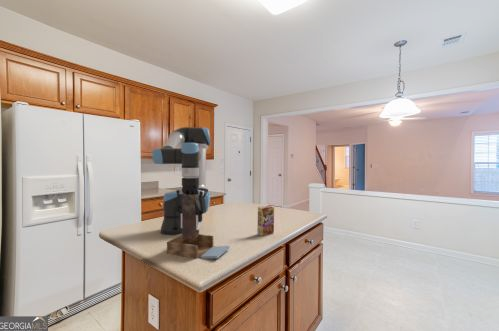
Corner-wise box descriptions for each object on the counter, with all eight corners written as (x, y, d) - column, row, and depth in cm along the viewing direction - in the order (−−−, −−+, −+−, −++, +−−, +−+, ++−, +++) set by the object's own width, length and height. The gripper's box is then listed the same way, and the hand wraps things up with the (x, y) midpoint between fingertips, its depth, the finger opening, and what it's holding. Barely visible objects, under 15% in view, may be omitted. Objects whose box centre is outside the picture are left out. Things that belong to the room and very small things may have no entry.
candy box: (261, 236, 125) (261, 208, 125) (257, 234, 129) (257, 207, 128) (274, 233, 130) (274, 206, 129) (269, 231, 133) (269, 205, 133)
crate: (167, 255, 100) (166, 242, 100) (186, 244, 113) (186, 232, 113) (196, 260, 95) (196, 246, 95) (213, 248, 108) (213, 235, 108)
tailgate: (198, 256, 96) (216, 255, 93) (212, 246, 107) (229, 245, 104) (198, 259, 96) (217, 258, 93) (212, 248, 107) (230, 248, 104)
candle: (184, 234, 107) (183, 191, 107) (200, 234, 108) (199, 191, 107) (180, 240, 100) (180, 194, 99) (197, 239, 100) (197, 194, 100)
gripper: (166, 177, 103) (166, 228, 104) (205, 178, 96) (205, 233, 97) (177, 176, 110) (177, 223, 111) (214, 177, 103) (214, 228, 104)
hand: (190, 228), depth 104 cm, fingers closed on candle, 7 cm apart
